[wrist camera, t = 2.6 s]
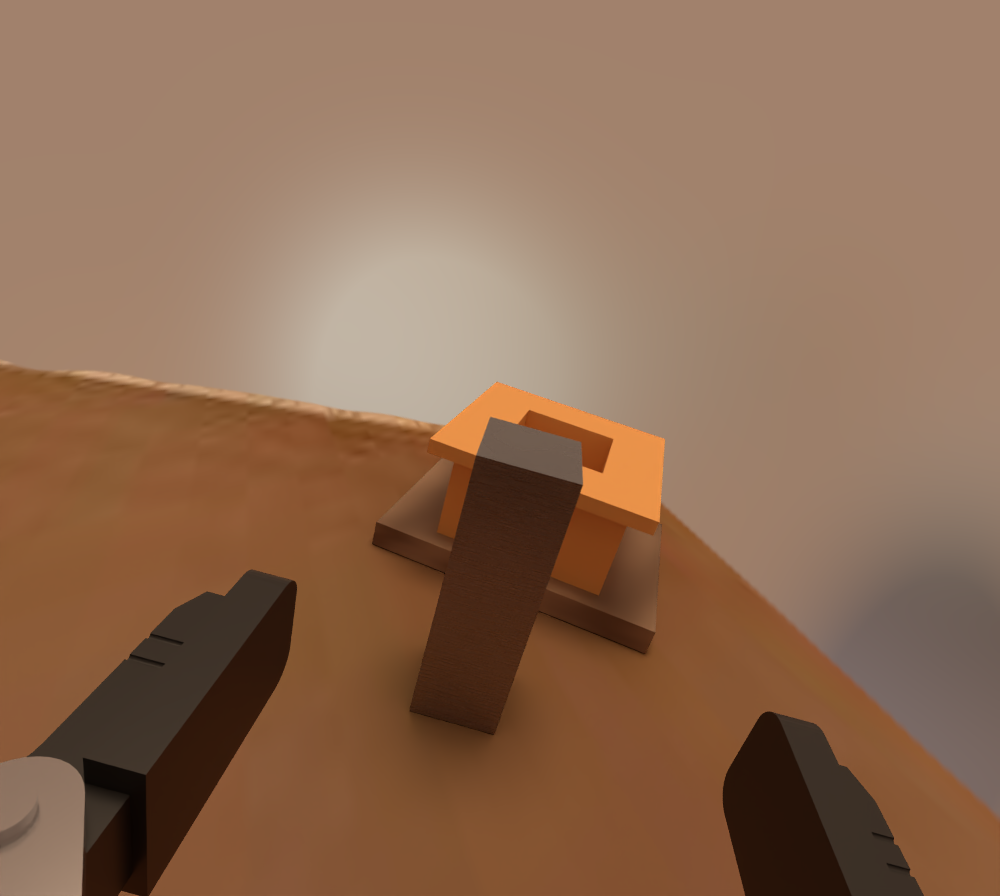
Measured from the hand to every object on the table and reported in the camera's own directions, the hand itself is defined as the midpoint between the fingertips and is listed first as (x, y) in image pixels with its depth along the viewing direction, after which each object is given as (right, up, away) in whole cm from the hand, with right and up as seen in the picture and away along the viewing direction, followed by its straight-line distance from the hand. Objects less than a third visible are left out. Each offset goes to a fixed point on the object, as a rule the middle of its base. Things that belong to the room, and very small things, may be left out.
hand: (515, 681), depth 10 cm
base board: (+2, -2, +27) cm, 27 cm away
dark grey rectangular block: (-2, -7, +16) cm, 17 cm away
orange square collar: (+2, -1, +27) cm, 27 cm away
